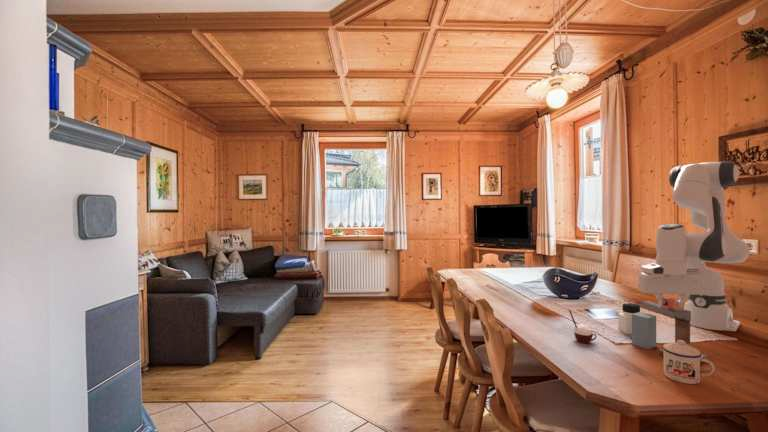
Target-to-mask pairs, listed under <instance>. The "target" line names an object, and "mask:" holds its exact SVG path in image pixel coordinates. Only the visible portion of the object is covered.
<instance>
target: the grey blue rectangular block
mask: <svg viewBox="0 0 768 432" xmlns="http://www.w3.org/2000/svg"><path fill="white" fill-rule="evenodd" d="M631 345H632V346H633V345H634V346H636V347H638V348H639V347H640V348H643V349H646V350H650V349H653V348H655V347H657V315H654V314H651V313H650V314H649V313H646V312H642V311H640V312H638V313H634V314H632V334H631Z"/></svg>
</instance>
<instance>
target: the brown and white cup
mask: <svg viewBox="0 0 768 432" xmlns="http://www.w3.org/2000/svg"><path fill="white" fill-rule="evenodd" d="M568 312H569V314H570V317H571V319H572V321H573V324H574V329H573V331H574V332H573V333H574V337H575V339H576V341H577V342H579V343H582V344H589V343H591V342H593V341H595V340H596V338H597V335H596V333H593V330H592V329H591V328H590V327H589V326H588V325H586V324H584V323H577V324H576V320H575V319H574V316H573V313H572V311H571V309H568ZM593 336H595V337H594V338H593Z"/></svg>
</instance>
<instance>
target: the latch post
mask: <svg viewBox="0 0 768 432" xmlns="http://www.w3.org/2000/svg"><path fill="white" fill-rule="evenodd" d="M674 335H675V336H674V342H677V340H683V341H685V342H686V344H688V345H689V346H691V325H690V321H681V320H677V319H675V318H674ZM700 353H701V352H700ZM658 356H661V357H664V349H663V348H662V349H660V350H658ZM700 358H702V359H706V360H708V354H705V353H704V354H703V353H701V357H700ZM701 363H703V362H702V361H700V364H701Z"/></svg>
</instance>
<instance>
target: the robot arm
mask: <svg viewBox="0 0 768 432" xmlns="http://www.w3.org/2000/svg"><path fill="white" fill-rule="evenodd" d="M739 178H740V170H739V167H738V166H737V164H736V163H735V162H733V161H727V160H722V161H710V162H709V161H705V162H699V163H690V164H685V165H681V164H680V165H677V166H674V167H673V168H671V170H670V172H669V174H668V181H669V185H670V186H671V187H672V188H673V189H672V200H673V201H674V202H675V204H676V205H677V206H678V207H680V208H682V209H684V210H687V211H690V215H689V216H690V219H689V220H690V223H691V224H692V225H693V226H695V227H697V228H699V229H702V230H704V232H687V231H686V227H685V225H683V224H679V223H664V224H661V225H659V226H658V228H657V231H656V237H655V250H656V256H655V261H653V262H651V263H647V264H643V265H640V267H639V268H640V271H641V272H640V273H639V275H638V280H637V281H638V282H637V289H638V290H639V292H640V293H644V294H651V295H652V294H653V295H654V296H655V298H656V300H657V304H658V305H660V306H665V305H666V304H665V303H666V301H663V300H662V298H661V297H663V295H678V296H679V298H678V300H675V306H676V307H684V308H683V309H684V310H689V311H691V321H690V326H694V327H696V328H701V329H707V330H712V331H727V332H737V330H738V328H739V327H740V325H741V322H740V321H739V320H737V319H736V320H735V319H734V316H733V315H734V312H733V310H732V309H731V307H729V305H728V304H727V299H728V294H727V293H725V278H724V276H723V275H722V274H721V273H719V272H717V271H716V270H714V269H711V268H709V267H708V266H707V264H706V263H718V264H719V263H720V264H739V263H744V262H745V261H746V260H747V259H748V258H749V256H750V254H751V252H750V251H751V249H750V246H749V245H748V244H747V243H746V242H745V240H743V239H741V238H740V237H737V235H736V234H734V233H733V232H732V231H731V229H730V228H729V226H728V224H727V221H726V220H727V219H726V198H725V197H726V196H725V191H726V190H728V188H729V187H733V185H735V184H736V183H737V182H738V179H739ZM705 231H706V232H705ZM687 298H688V300H687ZM686 300H687V301H686ZM685 301H686V302H685Z"/></svg>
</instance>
